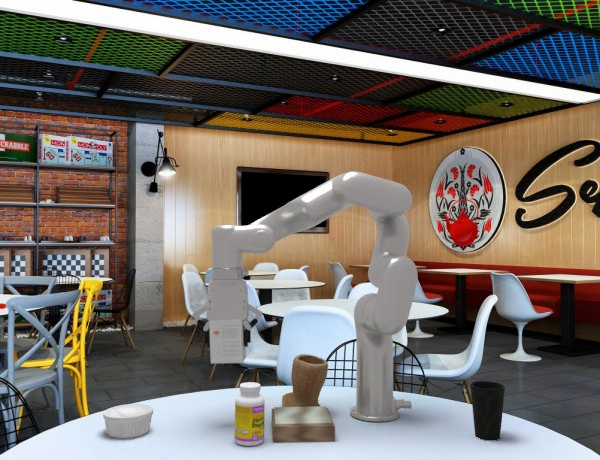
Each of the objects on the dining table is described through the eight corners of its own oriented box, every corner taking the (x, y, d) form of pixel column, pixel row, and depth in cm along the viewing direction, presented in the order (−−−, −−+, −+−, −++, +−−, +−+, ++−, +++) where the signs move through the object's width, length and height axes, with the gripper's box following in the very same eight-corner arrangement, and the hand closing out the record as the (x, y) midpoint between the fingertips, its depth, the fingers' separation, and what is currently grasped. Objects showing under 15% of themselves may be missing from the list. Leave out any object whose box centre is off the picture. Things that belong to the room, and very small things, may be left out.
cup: (487, 444, 129) (487, 390, 129) (463, 434, 135) (463, 383, 136) (512, 439, 132) (512, 386, 132) (487, 429, 139) (487, 379, 139)
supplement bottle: (252, 449, 125) (252, 389, 125) (228, 443, 128) (229, 385, 129) (270, 440, 131) (270, 383, 131) (246, 434, 134) (247, 379, 134)
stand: (327, 421, 144) (327, 405, 144) (334, 441, 130) (334, 423, 130) (271, 422, 143) (271, 406, 143) (273, 442, 129) (273, 424, 129)
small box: (246, 358, 143) (245, 316, 143) (242, 363, 138) (242, 319, 138) (214, 358, 144) (213, 316, 144) (209, 363, 138) (208, 320, 138)
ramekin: (92, 437, 132) (93, 414, 132) (123, 422, 143) (123, 401, 143) (133, 443, 128) (133, 419, 129) (161, 428, 139) (162, 406, 139)
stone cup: (329, 420, 145) (330, 361, 146) (283, 420, 145) (283, 361, 145) (324, 403, 161) (324, 349, 161) (281, 403, 160) (282, 349, 160)
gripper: (262, 273, 145) (263, 342, 145) (193, 274, 144) (193, 344, 143) (262, 275, 137) (263, 348, 137) (189, 276, 136) (190, 350, 136)
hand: (227, 346), depth 140 cm, fingers closed on small box, 8 cm apart
